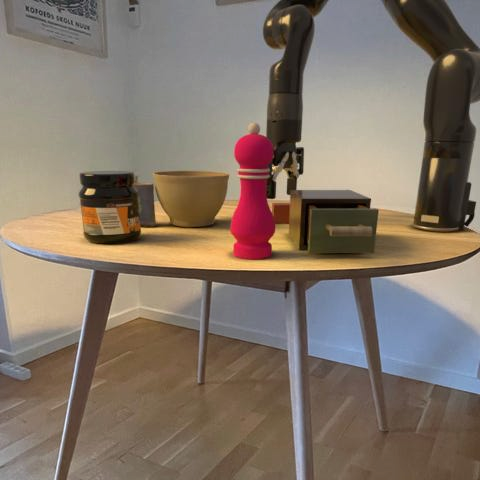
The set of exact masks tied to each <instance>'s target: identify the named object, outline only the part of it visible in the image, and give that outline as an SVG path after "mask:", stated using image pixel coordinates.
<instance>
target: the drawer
mask: <svg viewBox="0 0 480 480" xmlns="http://www.w3.org/2000/svg"><path fill="white" fill-rule="evenodd" d="M379 210H380V209H378V208H370V209H369V208H367V207H365V206H363V205H361V204H359V203H348V204H306V215H305V234H304V240H305V241H306V242H307V243H308V250H307V252H308V254H374V253H375V247H376V239H377V238H376V237H377V230H378V222H379V221H378V219H379Z"/></svg>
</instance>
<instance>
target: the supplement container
mask: <svg viewBox="0 0 480 480" xmlns="http://www.w3.org/2000/svg"><path fill="white" fill-rule="evenodd" d="M134 174H135V172H133V171H128V170H89V171H82V172H79V183H80V185H81V186H82V187H81V188H80V190H79V191H78V198H79V202H80V203H79V204H80V210H81V211H80V212H81V219H82V228H83V229H82V230H83V237H84V239H85V240H87V241H89V242H90V243H93V244H101V245H103V244H104V245H112V244H114V245H115V244H124V243H130V242H133V241H137V239H139V238H140V237H141V235H142V228H141V226H140V216H139V202H138V196H139V193H138V190H137V189H136V188H135V187H134V183H135V176H134Z"/></svg>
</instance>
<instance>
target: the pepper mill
mask: <svg viewBox="0 0 480 480" xmlns="http://www.w3.org/2000/svg"><path fill="white" fill-rule="evenodd" d="M247 130H248V133H249V134H245V135H243V136H241V137H240V138H239V139H238V140H237V142H236V143H235V146H234V149H233V150H234V151H233V155H234V159H235V161H236V162H237V164H238V166H239V167H238V168H237V169H236V170H237V178H238V179H239V182H240V196H239V199H238V203H237V206H236V208H235V209H234V212H233V214H232V218H231V222H230V229H229V230H230V234H231V235H232V236H233V237H234V239H235V240H236V242H234V243H233V247H232V248H233V250H232V251H233V253H232V254H233V256H234V257H235V258H238V259H242V260H243V259H244V260H261V259H266V258H270V257H271V256H272V253H273V245H272V243H271V242H269V241H270V240H271V239H272V238H273V236H274V235H275V233H276V223H275V221H274V217H273V215H272V209H271V207H270V204H269V202H268V199H267V197H266V184H267V178H269V177H270V175H269V171H270V169H269V168H267V167H268V165H269V163H270V162H271V161H272V159H273V154H274V149H273V145H272V143H271V141H270V140H269V139H268V138H267V137H266V135H263V134H261V133H260V132H261V126H260V124H259V123H258V122H251V123H250V124H249V125H248V128H247ZM259 133H260V134H259Z"/></svg>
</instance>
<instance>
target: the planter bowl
mask: <svg viewBox="0 0 480 480" xmlns="http://www.w3.org/2000/svg"><path fill="white" fill-rule="evenodd" d="M152 178H153V180H154V190H155V193H156V197H157V200H158V202H159V204H160V206H161V208H162V210H163V211H164V213H165V214H166V216H168V218H169V223H170V224H171V225H173V226H175V227H177V226H178V227H182V228H184V227H187V228H199V227H207V226H208V227H209V226H212V225H213V224H215V223H214V222H215V218H216V216H218V214H219V213H220V211H221V210H222V208H223V205H224V203H225V200H226V197H227V193H228V184H229V179H230V174H229V173H227V172H222V171H213V170H212V171H211V170H164V171H163V170H162V171H155V172H153V173H152Z"/></svg>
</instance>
